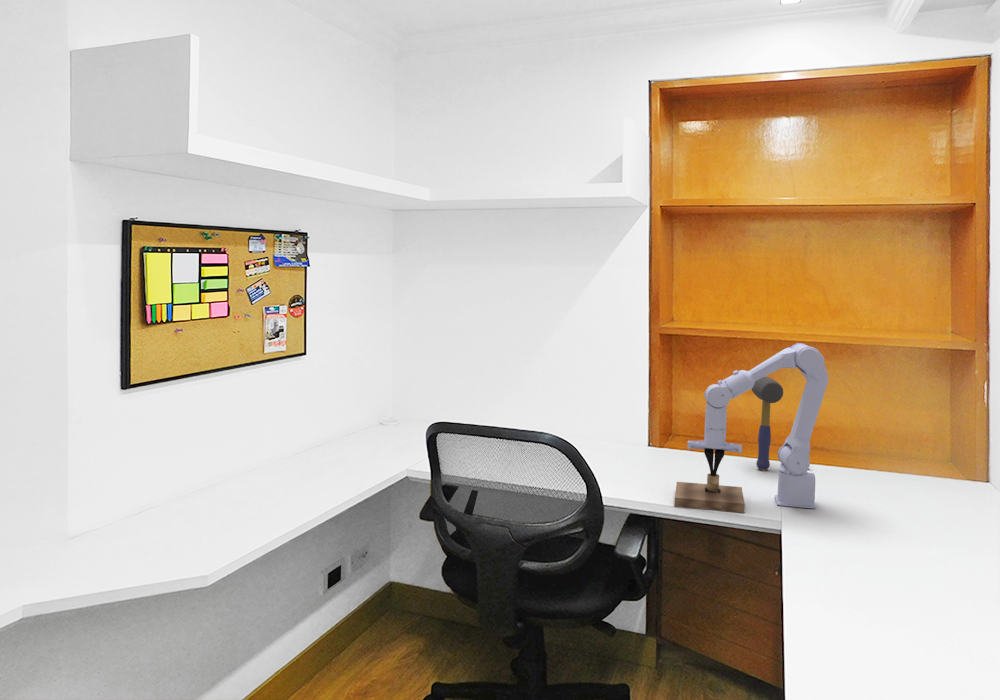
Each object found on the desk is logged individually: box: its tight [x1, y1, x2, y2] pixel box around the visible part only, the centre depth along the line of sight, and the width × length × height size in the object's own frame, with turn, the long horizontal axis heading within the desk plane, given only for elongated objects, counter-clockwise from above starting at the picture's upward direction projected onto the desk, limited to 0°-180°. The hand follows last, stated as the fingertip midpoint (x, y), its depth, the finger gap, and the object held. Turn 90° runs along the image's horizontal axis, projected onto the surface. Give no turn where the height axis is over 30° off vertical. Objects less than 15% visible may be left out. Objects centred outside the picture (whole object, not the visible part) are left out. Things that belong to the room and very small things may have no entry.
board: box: [674, 481, 745, 514], centre depth 200 cm, size 18×15×2 cm
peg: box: [706, 473, 720, 493], centre depth 202 cm, size 3×3×7 cm
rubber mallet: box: [751, 376, 784, 471], centre depth 230 cm, size 12×8×30 cm, turn 176°
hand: (713, 475), depth 201 cm, fingers closed, pressing on peg
